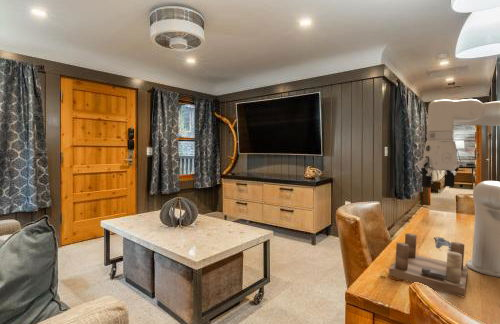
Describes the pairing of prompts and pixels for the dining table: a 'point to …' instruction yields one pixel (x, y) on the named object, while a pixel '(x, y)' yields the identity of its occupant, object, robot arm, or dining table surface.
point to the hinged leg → (449, 268)
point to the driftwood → (442, 243)
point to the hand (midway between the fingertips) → (437, 186)
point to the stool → (412, 264)
